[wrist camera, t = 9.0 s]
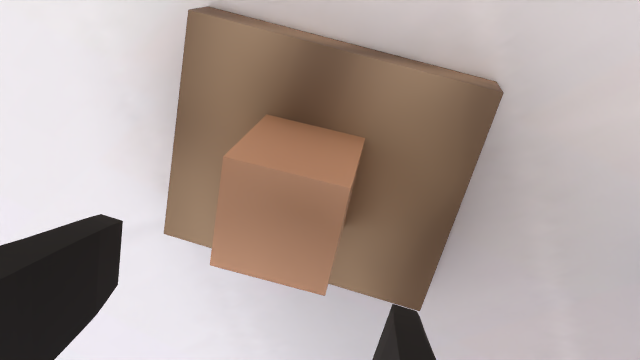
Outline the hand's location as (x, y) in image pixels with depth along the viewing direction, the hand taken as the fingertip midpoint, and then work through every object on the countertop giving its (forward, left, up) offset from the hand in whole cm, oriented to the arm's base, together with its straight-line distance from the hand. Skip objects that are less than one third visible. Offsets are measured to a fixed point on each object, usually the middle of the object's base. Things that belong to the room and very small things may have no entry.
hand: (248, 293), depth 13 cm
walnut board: (0, 0, -11) cm, 11 cm away
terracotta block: (0, 0, -8) cm, 9 cm away
